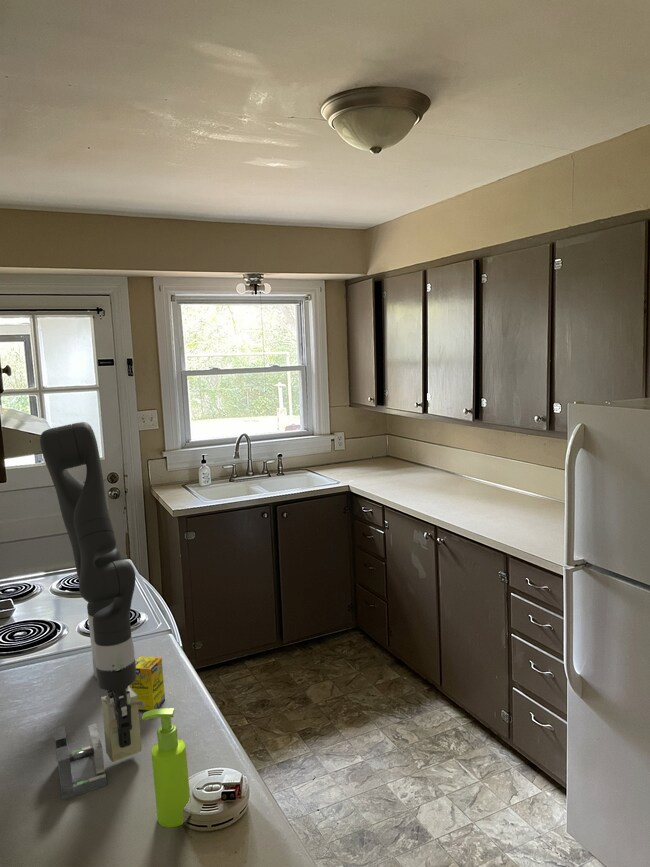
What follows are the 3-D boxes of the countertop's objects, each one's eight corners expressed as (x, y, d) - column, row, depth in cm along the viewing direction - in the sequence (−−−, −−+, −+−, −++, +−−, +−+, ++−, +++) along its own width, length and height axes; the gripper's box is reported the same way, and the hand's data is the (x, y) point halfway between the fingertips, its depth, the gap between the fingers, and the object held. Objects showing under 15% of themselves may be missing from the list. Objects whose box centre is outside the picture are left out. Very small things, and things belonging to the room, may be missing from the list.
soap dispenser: (154, 806, 117) (145, 704, 115) (193, 802, 118) (184, 700, 115) (148, 830, 111) (138, 722, 109) (189, 825, 112) (179, 718, 109)
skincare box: (112, 763, 128) (106, 706, 126) (105, 752, 131) (99, 697, 130) (143, 750, 131) (137, 695, 130) (135, 740, 135) (130, 686, 133)
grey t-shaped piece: (59, 762, 130) (56, 734, 129) (98, 750, 133) (95, 723, 133) (64, 789, 122) (60, 760, 121) (105, 776, 125) (102, 747, 124)
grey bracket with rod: (57, 765, 131) (53, 729, 130) (98, 752, 135) (95, 717, 134) (62, 799, 120) (58, 761, 119) (106, 785, 124) (103, 747, 123)
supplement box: (154, 713, 148) (150, 669, 147) (131, 712, 150) (126, 667, 148) (166, 700, 154) (162, 656, 153) (143, 698, 155) (139, 655, 154)
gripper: (91, 650, 133) (99, 727, 135) (100, 680, 121) (109, 764, 123) (128, 641, 137) (135, 716, 139) (141, 669, 124) (148, 751, 126)
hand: (123, 738), depth 131 cm, fingers closed on skincare box, 4 cm apart
